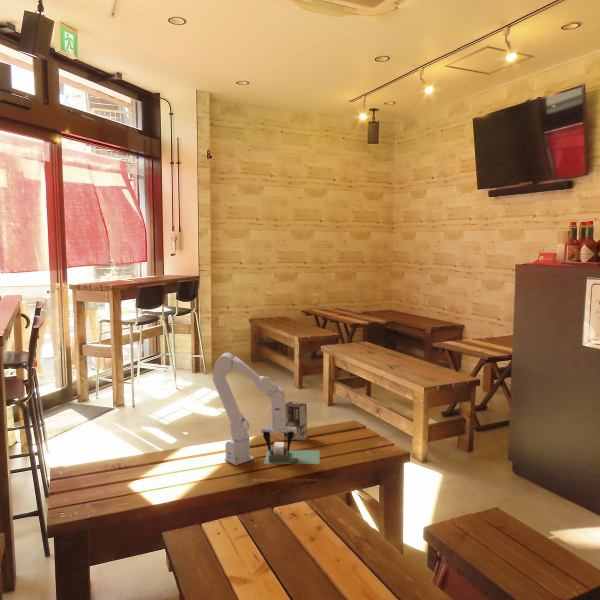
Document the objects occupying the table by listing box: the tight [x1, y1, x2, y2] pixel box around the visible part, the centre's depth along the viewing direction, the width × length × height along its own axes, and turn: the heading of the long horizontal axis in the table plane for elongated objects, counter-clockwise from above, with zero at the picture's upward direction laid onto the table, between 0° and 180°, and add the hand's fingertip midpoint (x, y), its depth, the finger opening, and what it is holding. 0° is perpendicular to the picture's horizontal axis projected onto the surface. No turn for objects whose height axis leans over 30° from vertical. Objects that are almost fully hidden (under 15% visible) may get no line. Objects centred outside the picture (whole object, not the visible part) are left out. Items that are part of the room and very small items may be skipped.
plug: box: [273, 441, 285, 455], centre depth 202 cm, size 7×4×5 cm, turn 177°
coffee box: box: [283, 401, 308, 441], centre depth 226 cm, size 9×6×16 cm
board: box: [263, 445, 320, 465], centre depth 202 cm, size 22×14×4 cm, turn 88°
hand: (279, 450), depth 202 cm, fingers open, 7 cm apart
